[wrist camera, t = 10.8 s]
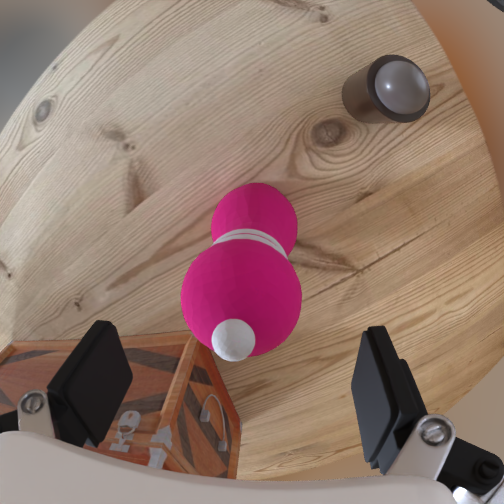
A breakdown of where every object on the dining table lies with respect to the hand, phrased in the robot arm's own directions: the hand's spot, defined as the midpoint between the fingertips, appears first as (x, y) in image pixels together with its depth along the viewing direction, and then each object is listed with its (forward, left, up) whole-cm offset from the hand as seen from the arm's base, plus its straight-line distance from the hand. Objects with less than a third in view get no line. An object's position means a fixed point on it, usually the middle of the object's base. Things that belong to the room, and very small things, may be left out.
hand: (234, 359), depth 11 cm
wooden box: (+28, -25, -21) cm, 43 cm away
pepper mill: (0, 0, -21) cm, 21 cm away
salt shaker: (-11, +11, -21) cm, 26 cm away
